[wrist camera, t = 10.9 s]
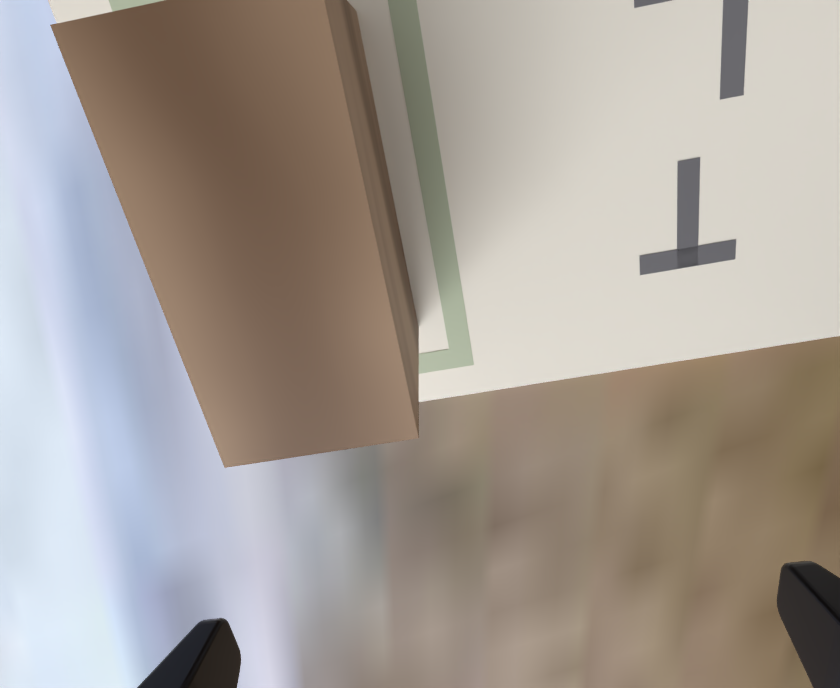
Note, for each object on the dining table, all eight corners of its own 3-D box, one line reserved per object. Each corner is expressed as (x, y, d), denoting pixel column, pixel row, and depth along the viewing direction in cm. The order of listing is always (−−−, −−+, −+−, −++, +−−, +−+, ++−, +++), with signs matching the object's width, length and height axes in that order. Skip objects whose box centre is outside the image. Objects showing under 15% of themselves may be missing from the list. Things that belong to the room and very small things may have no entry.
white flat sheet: (932, -248, 14) (943, -255, 14) (849, 330, 21) (855, 333, 21) (35, -46, 16) (28, -48, 16) (219, 429, 23) (216, 433, 22)
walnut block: (356, 10, 16) (317, -33, 10) (418, 327, 21) (418, 438, 14) (189, 45, 17) (50, 25, 10) (283, 349, 21) (224, 467, 15)
